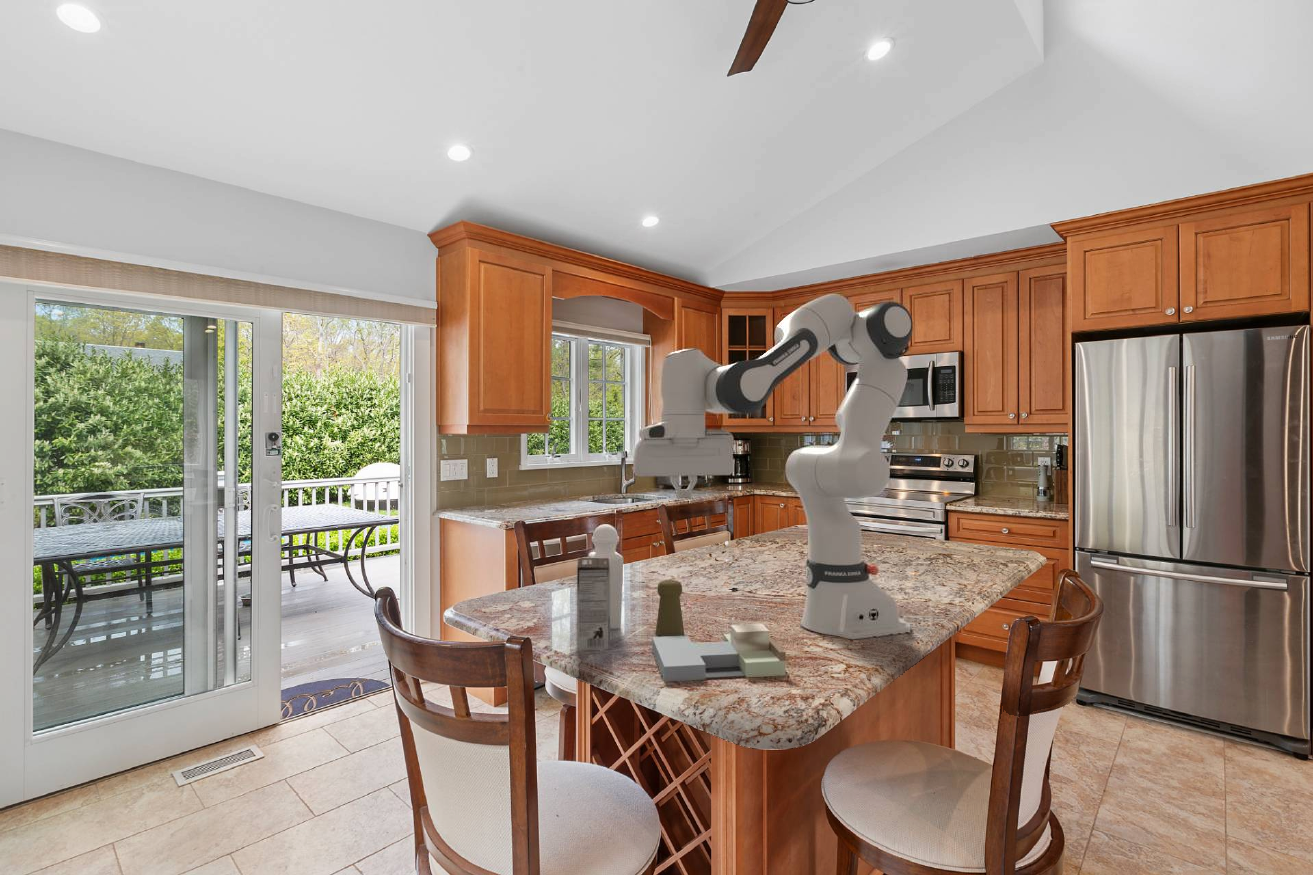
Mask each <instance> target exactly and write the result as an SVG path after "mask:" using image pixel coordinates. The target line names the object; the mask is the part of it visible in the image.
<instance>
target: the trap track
mask: <svg viewBox="0 0 1313 875" xmlns="http://www.w3.org/2000/svg"><path fill="white" fill-rule="evenodd" d="M722 640H723V641H709V642H708V641H705V642H693V641H692V640H691V638H690V636H689V635H683V636H666V637H659V636H653V637H652V638H651V642H652V643H651V646H652V648H651V649H652V653H653V655H654V659H655V658H656V659H655V661H656V664H657V665H658V669H659V671H660V674H661V677H662V676H663V677H662V679H663V682H682V681H685V682H686V681H700V680H703V681H704V680H718V679H719V680H720V679H721V680H722V679H723V680H724V679H737V678H738V679H739V678H741V679H743V678H759V677H779V676H787V675H786V671H787V670H786V664H787V663H786V662H787V660H786V656H787V655H786V651H785V650H784V649H783V648H782V647H781V646H780V645H779V644H778V643H777V642H776V641H775V640H774V639H773V638H772V637H771V636H770V635H769V650H766V651H744V652H737V651H736V650H735V649H734V648H733V646H732V645H731V633H723V639H722Z"/></svg>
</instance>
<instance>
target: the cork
mask: <svg viewBox="0 0 1313 875" xmlns="http://www.w3.org/2000/svg"><path fill="white" fill-rule="evenodd" d="M682 593H683V585H682V583H681V582H680V581H679V580H675V579H663V580H661V581H660V582H659V583H658V584H657V594H658V596H659V603H658V604H659V605H658V612H657V618H656V627H655V635H656V637H659V636H660V637H666V636H685V630H684V629H685V628H684V621H683V613H682V605H681V604H682V603H681V595H682Z"/></svg>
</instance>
